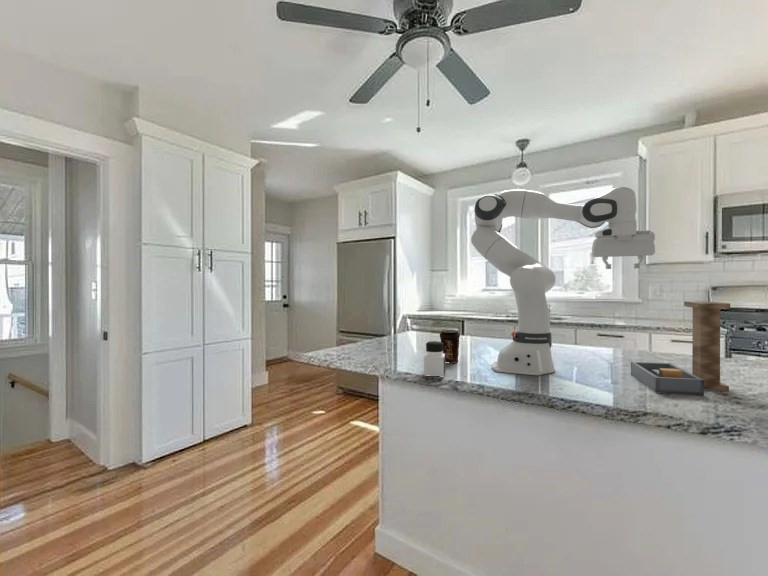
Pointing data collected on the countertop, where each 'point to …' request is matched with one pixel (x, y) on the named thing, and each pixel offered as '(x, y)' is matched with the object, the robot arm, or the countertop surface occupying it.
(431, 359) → the medicine bottle
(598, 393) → the countertop surface
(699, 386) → the tray
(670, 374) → the lock pin
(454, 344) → the coffee cup
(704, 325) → the pedestal
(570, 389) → the countertop surface
